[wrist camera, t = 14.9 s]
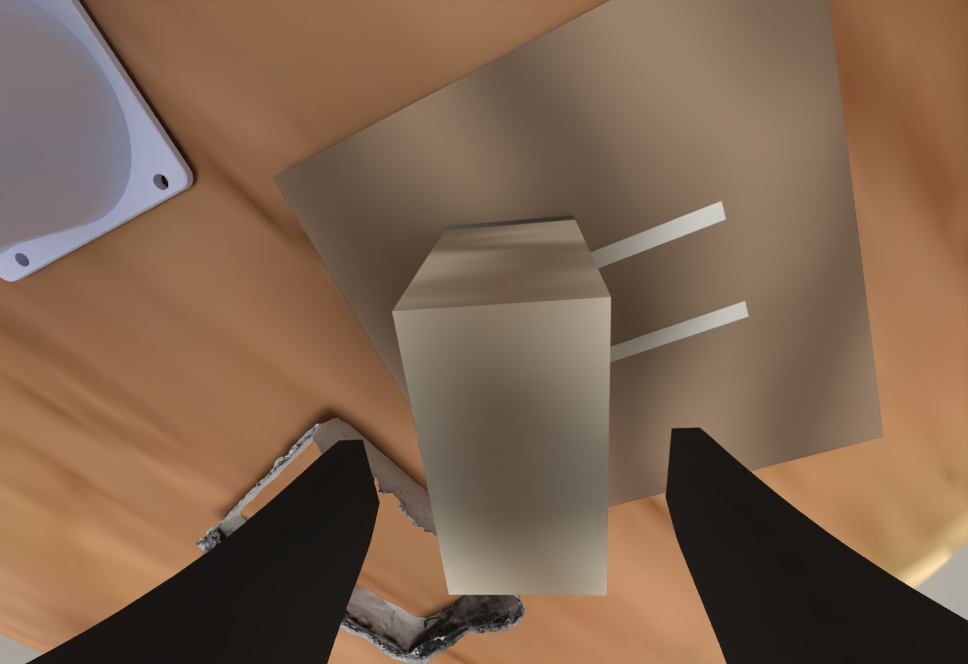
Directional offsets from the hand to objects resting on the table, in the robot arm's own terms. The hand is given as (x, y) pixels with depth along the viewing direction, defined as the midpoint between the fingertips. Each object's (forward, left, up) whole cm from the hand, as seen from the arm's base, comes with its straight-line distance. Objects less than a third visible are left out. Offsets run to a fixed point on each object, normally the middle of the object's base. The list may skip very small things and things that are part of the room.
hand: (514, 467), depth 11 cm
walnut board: (+3, 0, -8) cm, 8 cm away
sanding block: (0, 0, -6) cm, 6 cm away
